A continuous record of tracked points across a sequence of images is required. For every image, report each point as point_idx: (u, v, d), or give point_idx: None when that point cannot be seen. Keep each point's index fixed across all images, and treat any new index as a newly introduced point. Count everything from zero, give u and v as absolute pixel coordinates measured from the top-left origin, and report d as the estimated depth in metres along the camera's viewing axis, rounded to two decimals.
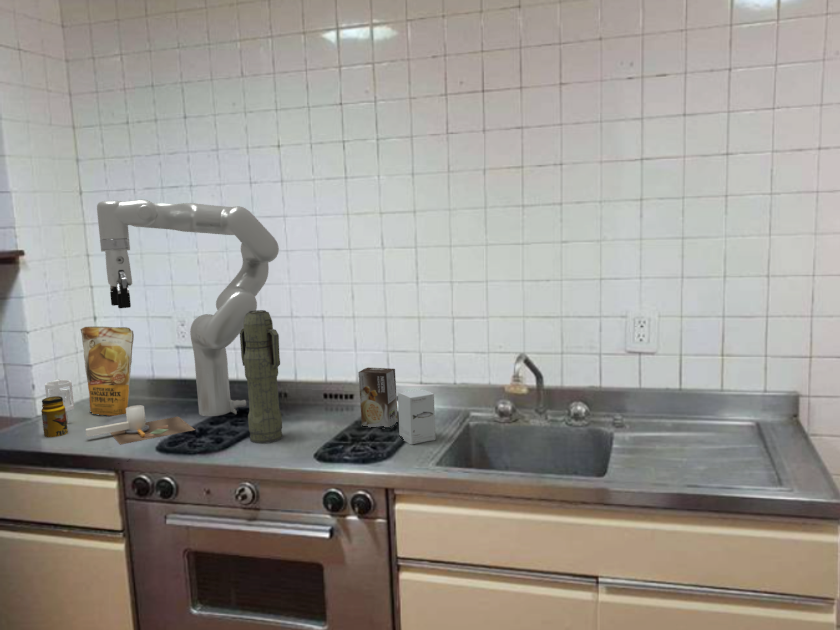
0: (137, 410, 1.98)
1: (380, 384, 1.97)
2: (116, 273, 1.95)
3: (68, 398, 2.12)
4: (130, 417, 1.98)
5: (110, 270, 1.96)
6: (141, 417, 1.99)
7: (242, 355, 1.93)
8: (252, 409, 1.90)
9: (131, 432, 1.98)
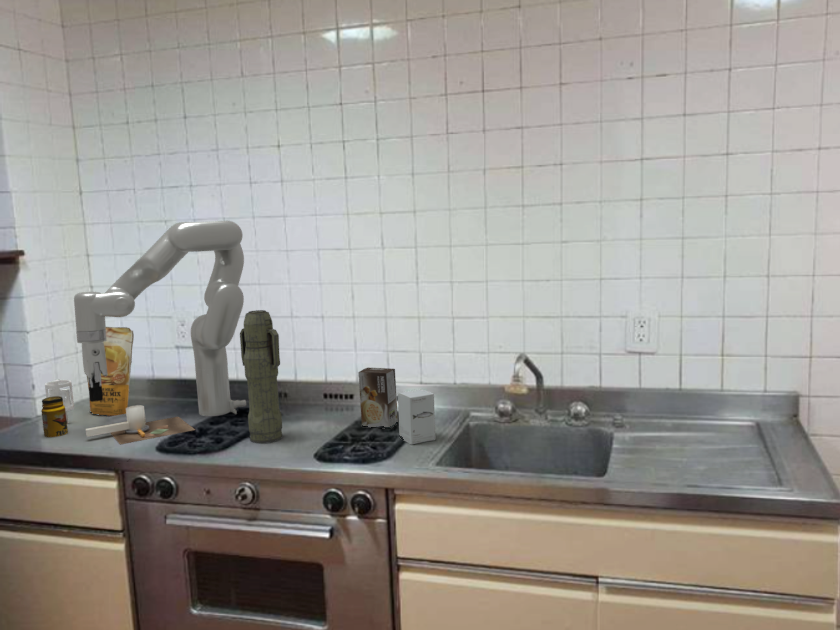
0: (137, 410, 1.98)
1: (380, 384, 1.97)
2: (91, 365, 1.95)
3: (68, 398, 2.12)
4: (130, 417, 1.98)
5: (85, 362, 1.96)
6: (141, 417, 1.99)
7: (242, 355, 1.93)
8: (252, 409, 1.90)
9: (131, 432, 1.98)
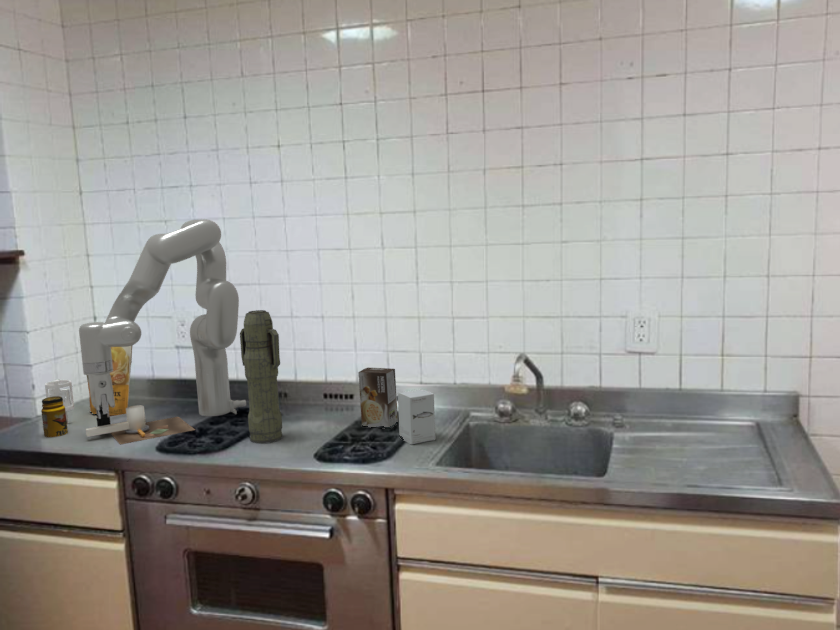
0: (137, 410, 1.98)
1: (380, 384, 1.97)
2: (98, 397, 1.92)
3: (68, 398, 2.12)
4: (130, 417, 1.98)
5: (92, 394, 1.94)
6: (141, 417, 1.99)
7: (242, 355, 1.93)
8: (252, 409, 1.90)
9: (131, 432, 1.98)
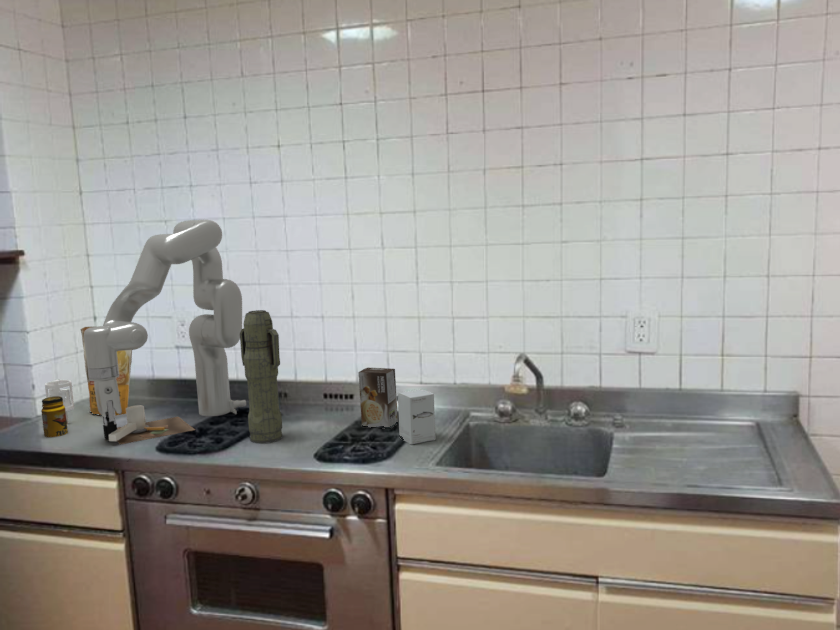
0: (143, 408, 2.00)
1: (380, 384, 1.97)
2: (104, 404, 1.86)
3: (68, 398, 2.12)
4: (137, 417, 1.98)
5: (98, 400, 1.87)
6: (144, 415, 2.01)
7: (242, 355, 1.93)
8: (252, 409, 1.90)
9: (142, 431, 1.98)
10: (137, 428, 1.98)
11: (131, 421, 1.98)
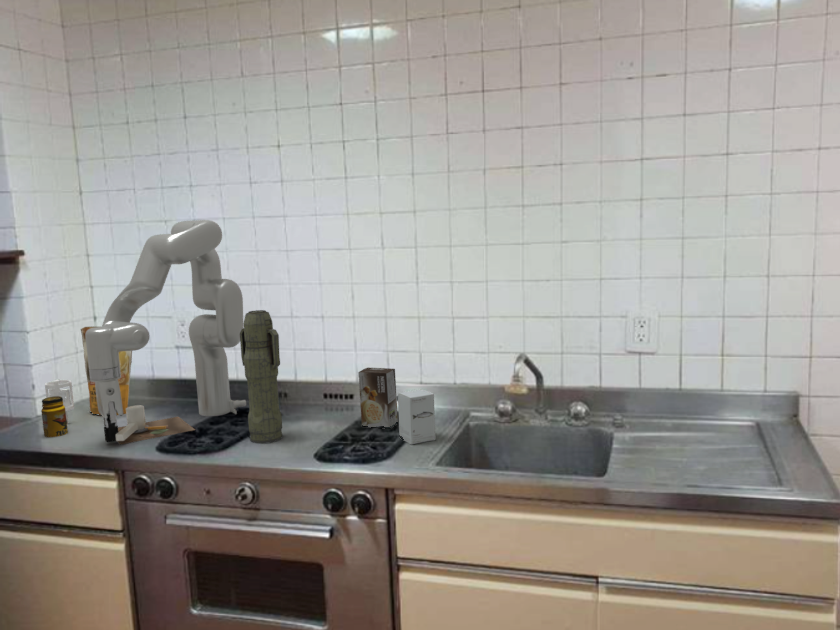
0: (143, 408, 2.00)
1: (380, 384, 1.97)
2: (106, 405, 1.84)
3: (68, 398, 2.12)
4: (139, 417, 1.98)
5: (100, 401, 1.85)
6: (144, 415, 2.01)
7: (242, 355, 1.93)
8: (252, 409, 1.90)
9: (143, 430, 1.99)
10: (138, 428, 1.99)
11: (132, 421, 1.98)
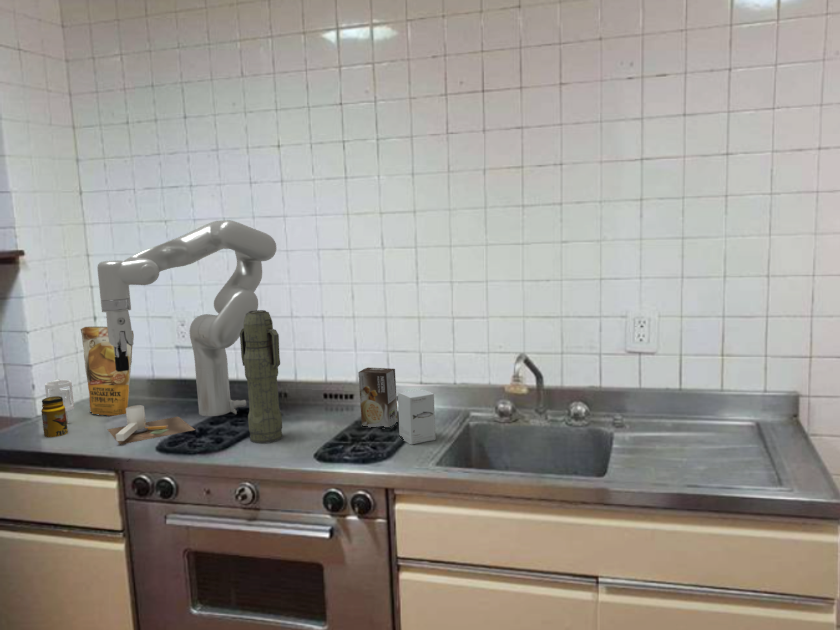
0: (143, 408, 2.00)
1: (380, 384, 1.97)
2: (117, 334, 1.92)
3: (68, 398, 2.12)
4: (139, 416, 1.98)
5: (111, 331, 1.94)
6: (144, 415, 2.01)
7: (242, 355, 1.93)
8: (252, 409, 1.90)
9: (143, 430, 1.99)
10: (138, 428, 1.99)
11: (132, 421, 1.98)
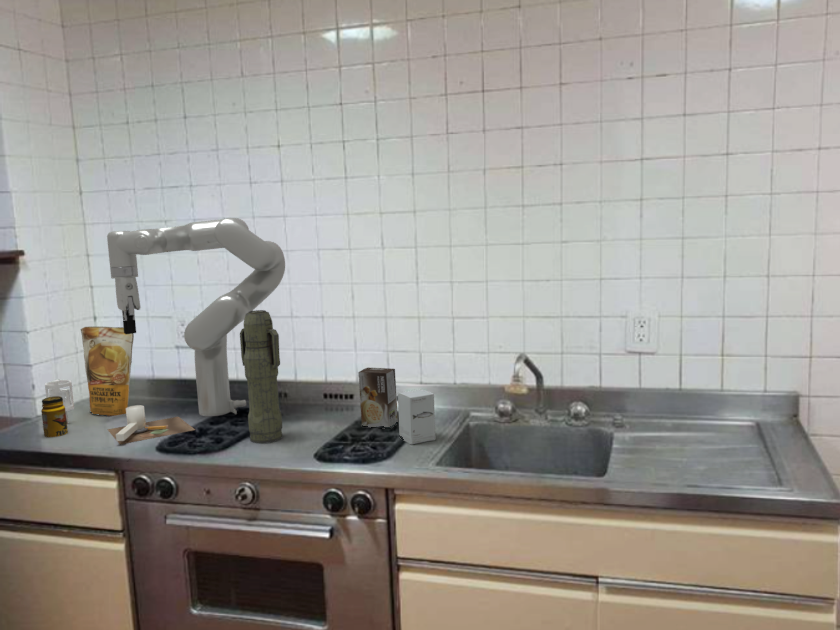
0: (143, 408, 2.00)
1: (380, 384, 1.97)
2: (125, 299, 2.08)
3: (68, 398, 2.12)
4: (139, 416, 1.98)
5: (120, 296, 2.09)
6: (144, 415, 2.01)
7: (242, 355, 1.93)
8: (252, 409, 1.90)
9: (143, 430, 1.99)
10: (138, 428, 1.99)
11: (132, 421, 1.98)
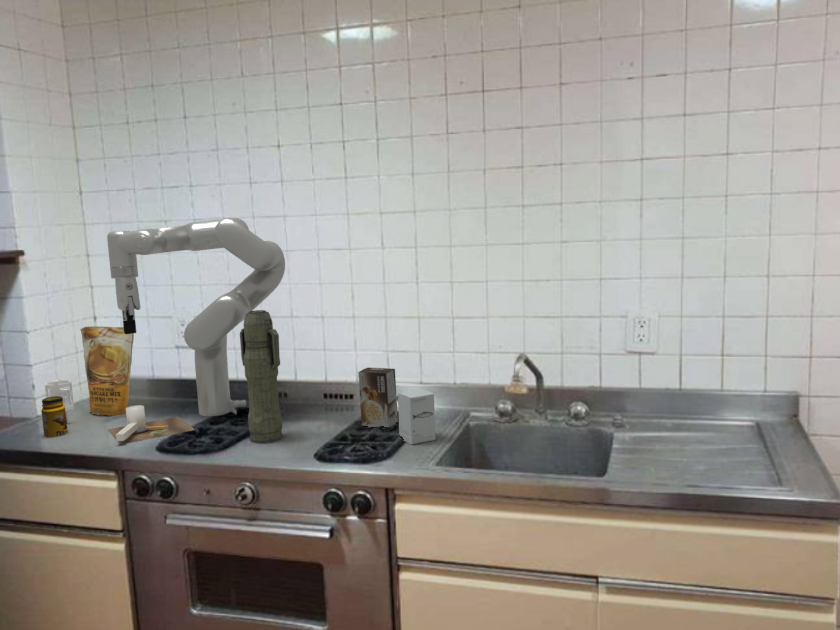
0: (143, 408, 2.00)
1: (380, 384, 1.97)
2: (125, 299, 2.08)
3: (68, 398, 2.12)
4: (139, 416, 1.98)
5: (120, 296, 2.09)
6: (144, 415, 2.01)
7: (242, 355, 1.93)
8: (252, 409, 1.90)
9: (143, 430, 1.99)
10: (138, 428, 1.99)
11: (132, 421, 1.98)
